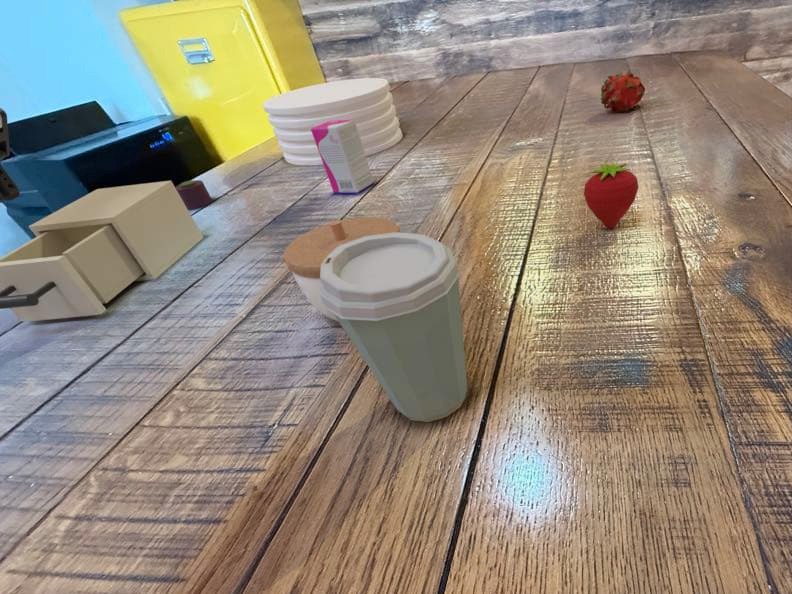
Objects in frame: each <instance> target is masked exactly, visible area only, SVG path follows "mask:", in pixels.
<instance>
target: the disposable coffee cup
mask: <svg viewBox="0 0 792 594" xmlns="http://www.w3.org/2000/svg"><path fill="white" fill-rule="evenodd" d="M460 276H461V271H460V269H459V265H458V263H457V260H456V258H455V257H454V254H453V251H452V249H451V248H450V247H449V246H447V245H444V243H443V242H441V241H439V240H436V239H434V238H432V237H430V236H428V235H425V234H422V233H421V234H420V233H409V232H400V233H398V232H394V233H386V234H379V235H371V236H365V237H362V238H359V239H356V240H354V241H351V242H348V243H345V244H343V245H340V246H338V247H337V248H335V249H334V250H333V251H332V252H331V253H330V254H329V255H328V256H327V257H326V258H325V259H324V261H323V263H322V264H321V269H320V279H321V295H320V296H321V298H322V301H323V307H324V308H326V309H328V310H329V311H331V312H332V313H333V314H334V315H335V317H336V318H337V320H338V321H337V322H338V323H339V324H340V326H341V327H342V329H343V331H344V333H346V335H347V336H348V338H349V340H350V341H351V342H352V344H353V345H354V347H355V349H356V350H357V352H358V353H359V355H360V356H361V358H362V359H363V361H364V362H365V364H366V365H367V367H368V368H369V370H370V371H371V373H372V374H373V376H374V377H375V378H376V380H377V382H378V383H379V385H380V387H381V388H382V390H383V391H384V392H385V394H386V395H387V397H388V398H389V400H390V401H391V403H392V404H393V406H394V407H395V409H396V410H397V411H398V412H399V413H401V414H402V415H403V416H404V417H406V418H407V419H409V420H411V421H413V422H414V421H415V422H423V423H431V422H435V421H438V420H441V419H445V418H448V417H449V416H451V415H452V414H453V413H455V412H456V411H457V410H458V409H460V408H461V406H462V405H463V402H464V401H465V399H466V396H467V392H468V391H469V387H468V377H467V366H466V355H465V342H464V329H463V318H462V306H461V294H460V282H459V277H460Z"/></svg>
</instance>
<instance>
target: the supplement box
mask: <svg viewBox="0 0 792 594" xmlns="http://www.w3.org/2000/svg"><path fill="white" fill-rule="evenodd" d="M311 131H312V134H313V137H314V140H315V142H316V145H317V148H318V150H319V153H320V156H321V159H322V162H323V164H324V165H323V167H324V170H325V172H326V175H327V178H328V181H329V183H330V187H331V189H332V192H333V195H338V196H339V195H342V196H352V195H353V196H359V195H361V194H362V193H364V192H365V191H366V190H368V189H369V188H371V187H373V186H374V185H375V180H374V177H373V174H372V171H371V168H370V164H369V162H368V159H367V158H368V157H367V156H366V155H365V152H364V148H363V145H362V142H361V139H360V136H359V132H358V129H357V126H356V123H355V120H338V121H328V122H326V123H324V124H321V125H319V126H316V127H314V128H311Z"/></svg>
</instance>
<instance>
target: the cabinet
mask: <svg viewBox="0 0 792 594" xmlns="http://www.w3.org/2000/svg"><path fill="white" fill-rule="evenodd" d="M175 187H176V186H175V185H174V183H173V181H172V180H164V181H155V182H147V183H137V184H131V185H130V184H129V185H121V186H112V187H104V188H103V187H102V188H97V189H95V190H93V191H91V192H89V193H87V194H86V195H84V196H82V197H80V198H78V199H76V200H75V201H72V202H70V203H69V204H67V205H65V206H63V207H62V208H59V209H58V210H56V211H54V212H52V213H50V214H48V215H46V216H45V217H43V218H41V219H39V220H38V221H35V222H33V223H32V224H29V226H28V228H29V229H30V231H31V232H33V234H34V235H35V238H36V237H37V236H39V235H41V234H43V233H44V232H46V231H48V230H55V229H64V228H73V227H82V226H91V225H100V224H109V223H112V225H113V226H114V228H115V229H116V231H117V232H118V234H119V235H120V236H121V238H122V239H123V241H124V242H125V244H126V245H127V247H128V248H129V250H130V251H131V253H132V254H133V255H134V257H135V258H136V260H137V261H138V263H139V264H140V266H141V267H142V269H143V270H144V273H143V274H142V275H141V276H139V277H138V278H137V279H136V280H134V281H133V282H142V281H152V280H156V279H158V277H160V276H161V275H162V274H164V272H166V271H167V270H168V269H169V268H170V267H172V266H173V265H174V264H175V263H176V262H177V261H179V260H180V259H181V258H182V257H183V256H184V255H185V254H186V253H188V252H189V251H190V250H192V249H193V247H195V246H196V245H197V244H198V243H199V242H200V241H202V240H203V239H204V235H203V234H202V232H201V230H200V228H199V227H198V225H197V224H196V222H195V219H194V218H193V216H192V214H191V213H190V211H189V210H188V209H187V208H186V206H185V204H184V202H183V201H182V199H181V197H180V195H179V194H178V192H177V190H176V188H175Z"/></svg>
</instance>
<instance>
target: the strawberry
mask: <svg viewBox="0 0 792 594" xmlns="http://www.w3.org/2000/svg"><path fill="white" fill-rule="evenodd" d="M611 156H612V154H610V155H609V156H608V158H607V159H606V160H605V162H604V164H602V163H600V168H598V169H594V170H592V171H591V170H590V171H589V174H594V175H592V176H591V177H590V178H589V179H588V180H587V181H586V183H584V190H583V196H584V199H585V202H586V205H587V207H588V209H590V211H591V212H592V214H593V215H594V216H595V217H596V218H597V219H598V220H599V221H600V222H601V223H602V224H603V226H605V227H606V228H607V229H612V228H615V227H616V226H617V225H618V223H619V222H620V220H621V219H622V218H623V217H624V216H625V215H626V214H627V212H628V211H629V210H630V208H631V206H633V203H634V202H635V200H636V196H637V194H638V190H639V183H638V177H637V176H636V175H635V174H634V173H633V172H631V169H630V168H626V166H627V165H628V163H624V164H623V163H622V164H618V165H616V164H615V163H612V164H607V162H608V161H609V160H610V158H611Z"/></svg>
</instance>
